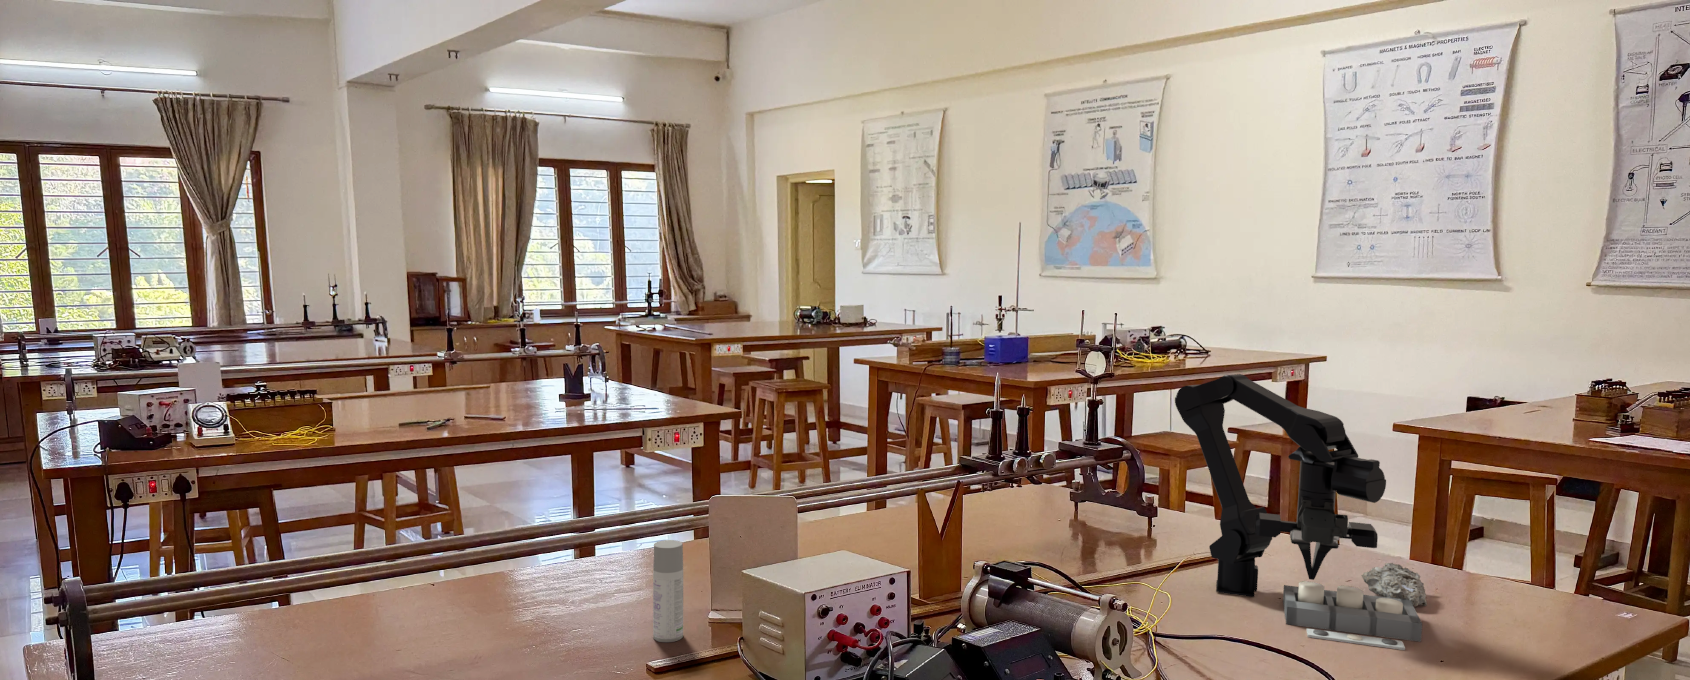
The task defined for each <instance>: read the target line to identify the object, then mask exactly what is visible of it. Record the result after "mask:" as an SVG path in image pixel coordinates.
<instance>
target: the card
mask: <svg viewBox="0 0 1690 680" xmlns="http://www.w3.org/2000/svg"><path fill="white" fill-rule="evenodd" d="M1306 636H1307V638H1313V639H1318V640H1319V639H1320V640H1327V641H1335V642H1342V643H1347V644H1348V643H1349V644H1357V645H1363V646H1372V647H1380V648H1387V649H1394V650H1400V651H1406V647H1405V644H1404V642H1403V641H1402V640H1399V639H1393V638H1384V637H1382V638H1381V637H1376V636H1369V635H1368V636H1367V635H1361V634H1359V635H1358V634H1356V633H1346V632H1339V631H1331V630H1325V629H1316V628H1306Z"/></svg>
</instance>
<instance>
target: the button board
mask: <svg viewBox="0 0 1690 680" xmlns="http://www.w3.org/2000/svg"><path fill="white" fill-rule="evenodd" d="M1298 589H1299V586H1296V585H1289V584H1288V585H1286V584H1284V585H1283V591H1282V592H1283V593H1282V604H1283V613H1284V619H1285V625H1291V626H1299V627H1306V628H1311V629H1319V630H1326V631H1334V632H1342V633H1349V634H1357V635H1358V634H1359V635H1364V636H1367V635H1368V636H1372V637H1379V638H1381V637H1382V638H1387V639H1395V640H1404V641H1411V642H1419V643H1421V642H1422V632H1423V622H1422V621H1421V619H1420V616H1419V615H1418V613H1417V610H1416V609H1415V606H1413V605H1412V603H1411V601H1410V600H1404V599H1396V598H1389V599H1394V600H1397V601H1400V602H1402V603H1403V612H1402V614H1394V613H1386V612H1378V611H1375V608H1376V599H1378V598H1388V597H1382V596H1379V595H1370V594H1363V607H1362V609H1354V608H1346V607H1338V606H1336V599H1337V590H1328V589H1324V601H1323V605H1322V604H1314V603H1306V602H1298Z"/></svg>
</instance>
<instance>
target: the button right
mask: <svg viewBox="0 0 1690 680" xmlns="http://www.w3.org/2000/svg"><path fill="white" fill-rule="evenodd" d="M1375 611H1378V612H1386V613H1394V614H1402V612H1403V603H1402V602H1400V601H1397V600H1394V599H1389V598H1378V599H1376V608H1375Z"/></svg>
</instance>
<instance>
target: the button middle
mask: <svg viewBox="0 0 1690 680" xmlns="http://www.w3.org/2000/svg"><path fill="white" fill-rule="evenodd" d="M1336 591H1337V599H1336V606H1338V607H1346V608H1354V609H1362V607H1363V595H1364V590H1363V589H1362V588H1359V587H1356V586H1352V585H1351V586H1350V585H1339V586H1337V587H1336Z"/></svg>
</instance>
